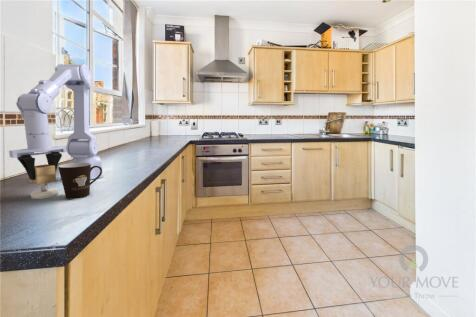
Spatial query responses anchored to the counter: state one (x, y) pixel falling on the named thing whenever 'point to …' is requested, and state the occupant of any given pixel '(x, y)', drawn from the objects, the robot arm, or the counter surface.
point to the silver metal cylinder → (44, 187)
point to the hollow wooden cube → (44, 174)
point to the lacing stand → (44, 193)
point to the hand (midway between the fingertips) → (43, 177)
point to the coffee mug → (77, 179)
